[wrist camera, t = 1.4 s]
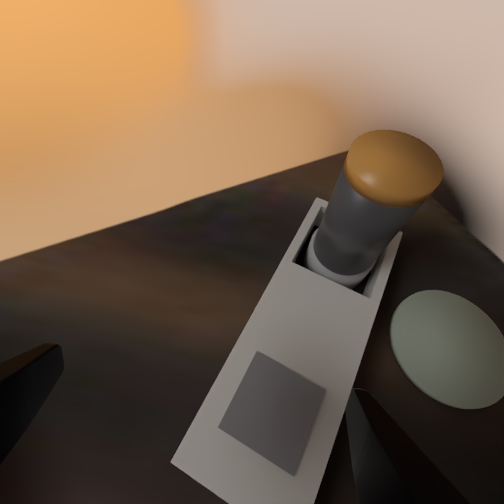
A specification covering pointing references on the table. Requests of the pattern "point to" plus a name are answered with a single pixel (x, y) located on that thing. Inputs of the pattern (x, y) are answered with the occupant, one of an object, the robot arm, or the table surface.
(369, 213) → the plug
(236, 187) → the table surface
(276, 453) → the power strip
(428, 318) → the rubber mat
